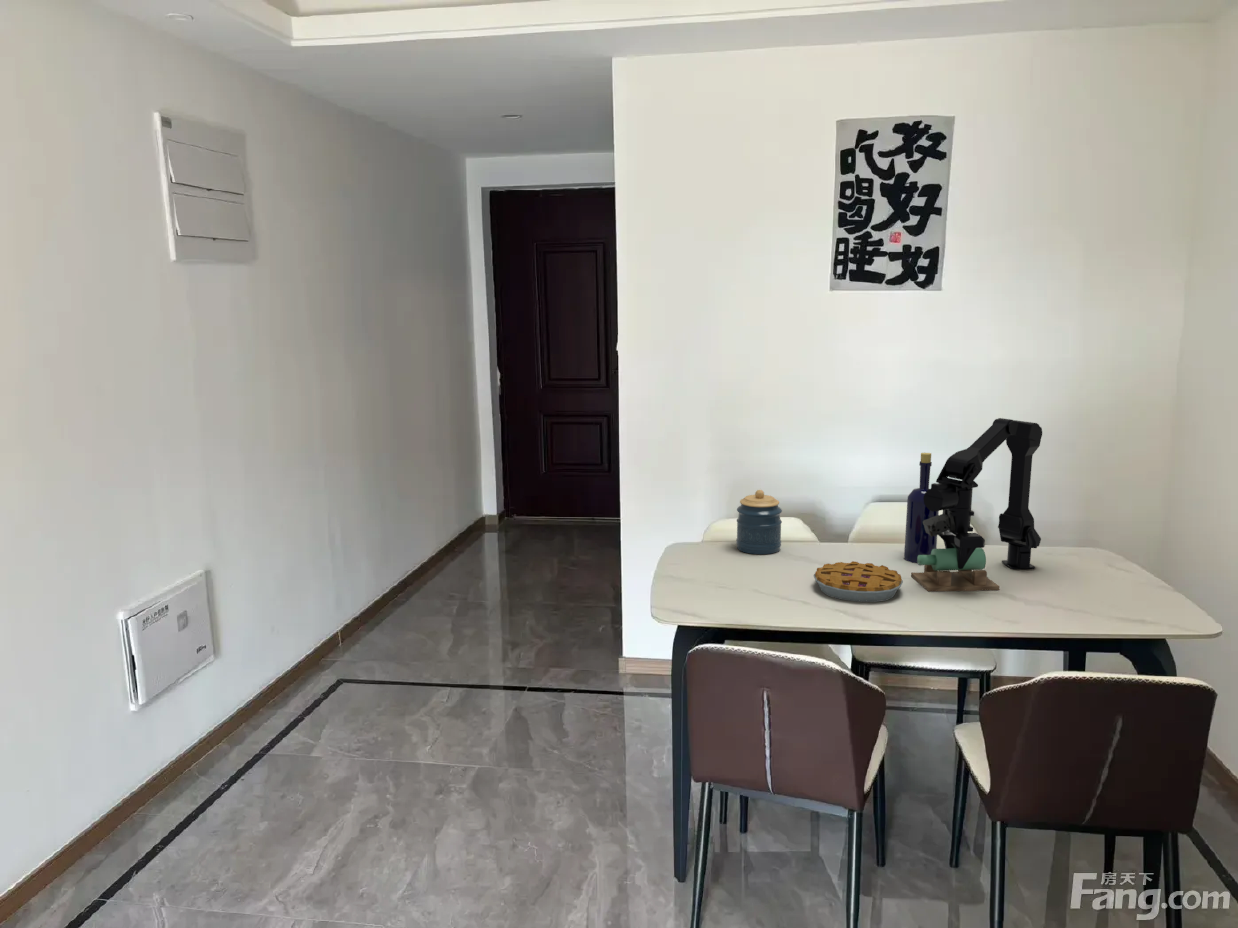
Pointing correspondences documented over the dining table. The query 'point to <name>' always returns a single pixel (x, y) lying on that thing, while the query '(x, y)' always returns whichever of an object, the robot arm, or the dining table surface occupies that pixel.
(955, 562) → the small bottle
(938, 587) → the bottle rest
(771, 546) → the canister
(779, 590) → the dining table surface
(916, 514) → the bottle
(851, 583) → the pie
